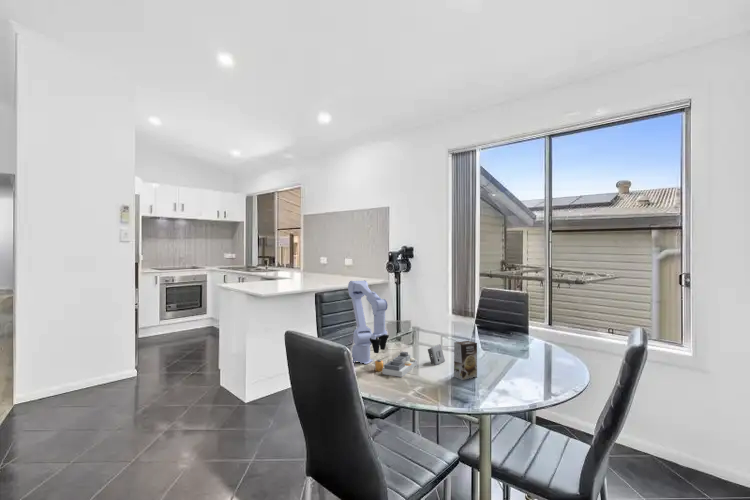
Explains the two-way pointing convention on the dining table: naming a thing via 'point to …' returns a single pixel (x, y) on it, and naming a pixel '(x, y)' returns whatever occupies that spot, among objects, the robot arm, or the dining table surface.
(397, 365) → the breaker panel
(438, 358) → the electrical switch
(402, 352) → the block
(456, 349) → the coffee box
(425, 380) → the dining table surface
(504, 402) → the dining table surface
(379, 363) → the cap
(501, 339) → the dining table surface
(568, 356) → the dining table surface
